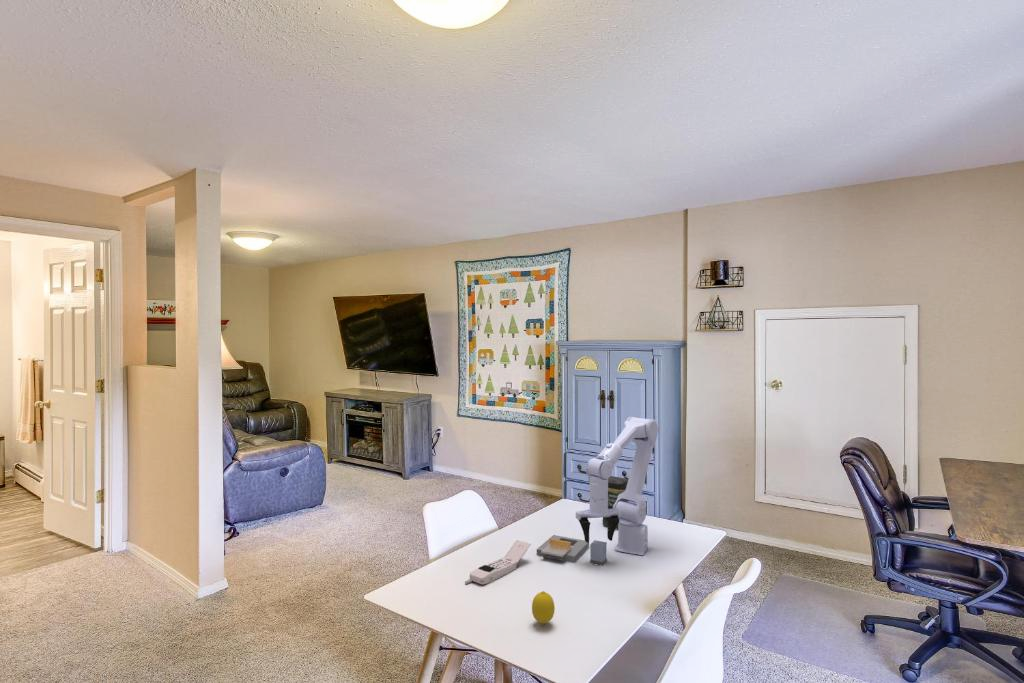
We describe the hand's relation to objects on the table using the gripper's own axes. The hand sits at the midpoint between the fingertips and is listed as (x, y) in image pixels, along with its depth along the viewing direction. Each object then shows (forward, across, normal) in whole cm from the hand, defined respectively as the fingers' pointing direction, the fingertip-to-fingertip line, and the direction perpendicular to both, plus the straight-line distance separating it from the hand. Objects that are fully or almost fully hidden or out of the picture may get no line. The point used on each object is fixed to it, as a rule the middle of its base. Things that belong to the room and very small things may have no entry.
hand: (598, 540), depth 167 cm
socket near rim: (+7, +3, -10) cm, 12 cm away
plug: (+7, 0, 0) cm, 7 cm away
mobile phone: (+7, +32, +1) cm, 33 cm away
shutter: (+4, +12, -6) cm, 14 cm away
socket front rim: (+7, +4, -16) cm, 18 cm away
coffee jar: (+7, -19, -30) cm, 36 cm away
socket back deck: (+7, +10, -8) cm, 15 cm away
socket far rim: (+7, +10, -16) cm, 20 cm away
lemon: (+7, +27, +32) cm, 43 cm away
